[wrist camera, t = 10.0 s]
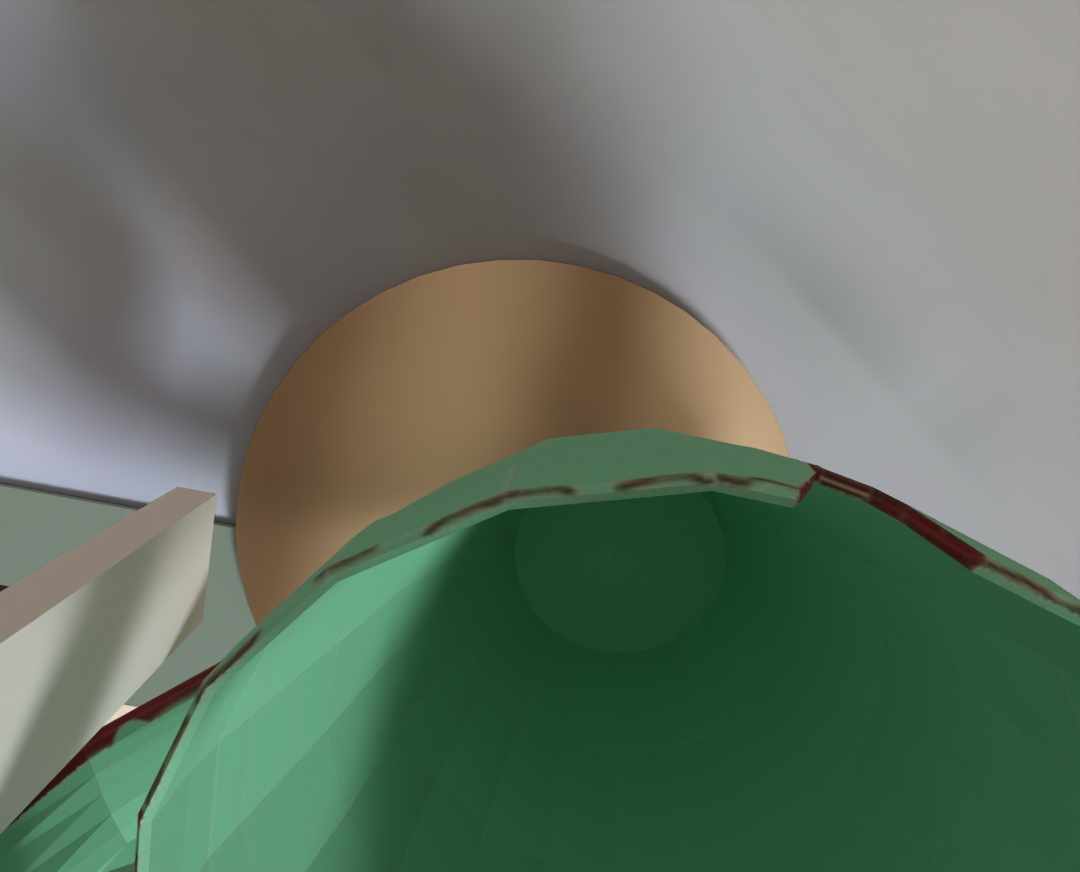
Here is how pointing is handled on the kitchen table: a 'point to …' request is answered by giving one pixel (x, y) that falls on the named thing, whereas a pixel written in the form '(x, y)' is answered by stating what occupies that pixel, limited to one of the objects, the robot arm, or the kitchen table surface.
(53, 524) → the tile
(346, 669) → the mug
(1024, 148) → the kitchen table surface
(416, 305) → the coaster
